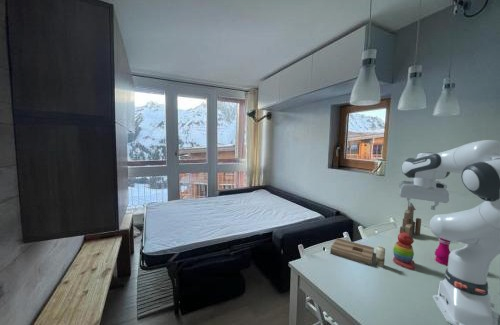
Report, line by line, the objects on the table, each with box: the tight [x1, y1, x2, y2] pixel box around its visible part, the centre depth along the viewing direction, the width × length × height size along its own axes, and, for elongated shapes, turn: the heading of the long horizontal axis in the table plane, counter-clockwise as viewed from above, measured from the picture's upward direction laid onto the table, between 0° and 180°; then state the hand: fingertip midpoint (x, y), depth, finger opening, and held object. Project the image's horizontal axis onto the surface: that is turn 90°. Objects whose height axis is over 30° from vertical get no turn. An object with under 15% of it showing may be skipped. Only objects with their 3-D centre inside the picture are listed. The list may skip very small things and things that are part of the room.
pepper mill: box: [434, 237, 451, 266], centre depth 119 cm, size 7×7×20 cm
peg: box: [375, 246, 386, 268], centre depth 115 cm, size 4×4×10 cm
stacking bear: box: [392, 232, 415, 270], centre depth 117 cm, size 11×10×18 cm
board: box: [329, 237, 375, 267], centre depth 127 cm, size 18×22×4 cm
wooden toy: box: [399, 202, 422, 237], centre depth 157 cm, size 16×7×25 cm, turn 114°
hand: (421, 207), depth 109 cm, fingers open, 8 cm apart
